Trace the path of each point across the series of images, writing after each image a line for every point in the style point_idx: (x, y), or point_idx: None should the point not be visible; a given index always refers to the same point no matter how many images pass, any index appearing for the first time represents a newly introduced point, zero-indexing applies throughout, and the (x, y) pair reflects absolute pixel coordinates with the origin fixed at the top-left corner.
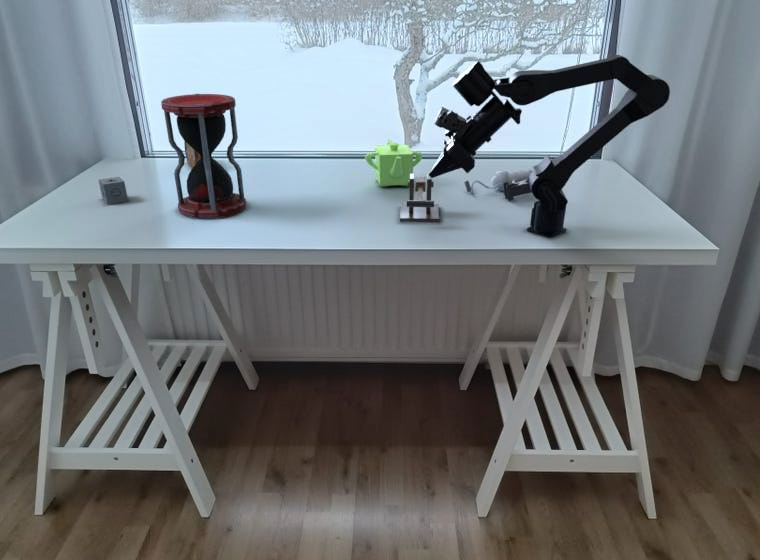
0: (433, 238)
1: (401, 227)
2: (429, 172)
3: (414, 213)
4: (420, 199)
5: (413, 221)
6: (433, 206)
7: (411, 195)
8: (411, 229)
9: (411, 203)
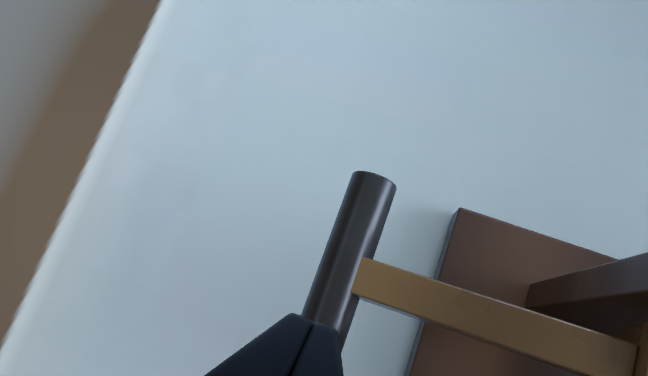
0: (176, 308)
1: None
2: (323, 335)
3: None
4: (372, 280)
5: None
6: None
7: (579, 284)
8: None
9: (344, 203)
